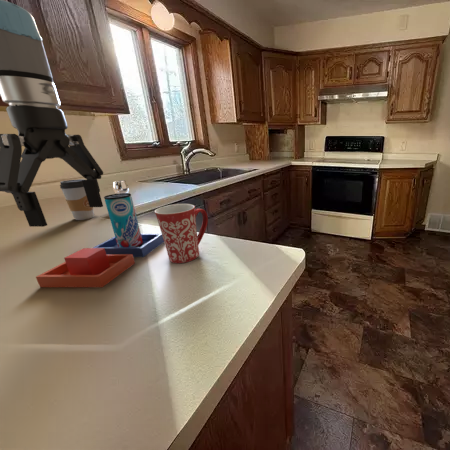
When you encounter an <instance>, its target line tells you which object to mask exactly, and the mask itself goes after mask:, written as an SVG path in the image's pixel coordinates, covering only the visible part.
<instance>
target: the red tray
mask: <svg viewBox="0 0 450 450" xmlns="http://www.w3.org/2000/svg"><path fill="white" fill-rule="evenodd" d="M106 255H107V258H108V261H109V265H110V267H109V268H108V269H106V270H105V271H103V272H102V273H100V274H98V275H70V272H69V270H68V267H67V264H66V262H65V261H64V262H61V263H60V264H57V265H56V266H54V267H52V268H50V269H48V270H46V271H44V272H42V273H40V274H38V275H36V276H35V279H36V281H37V283H38V285H39V286H38V287H40V288H104V287H105V286H106V285H108V284H109V283H110V282H112V281H113V280H115V279H116V278H117V277H118V276H120V275H121V274H122V273H124V272H125V271H127V270H128V269H129V268H131V267H132V266H134V265H135V264H136V261H135V257H133V254H106Z"/></svg>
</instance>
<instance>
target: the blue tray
mask: <svg viewBox="0 0 450 450" xmlns="http://www.w3.org/2000/svg"><path fill="white" fill-rule="evenodd" d="M141 237H142V241H143V244H142V245H141V246H140V247H118V245H117V241H116V238H115V236H113V237H111V238H108V239H107V240H105V241H103V242H101V243H99V244H97V245H94V246H93V247H92V248H104V249H105V252H106V254H133V258H145V257H146V256H147V255H149V254H150V253H151V252H153V251H155V250H156V249H157V248H159V247H160V246H161V245H163V244H164V240H163V236H162V233H141Z"/></svg>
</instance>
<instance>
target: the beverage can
mask: <svg viewBox="0 0 450 450" xmlns="http://www.w3.org/2000/svg"><path fill="white" fill-rule="evenodd" d="M103 199H104V203H105V207H106V210H107V214H108V217H109V220H110V224H111V227H112V230H113V234H114V237H115V238H116V241H117V245H118V247H140V246H141V245H142V244H143V241H142V237H141V234H142V233H141V229H140V225H139V221H138V217H137V213H136V209H135V205H134V201H133V197H132V194H131V193H129V192H128V193H119V194H116V193H112V194H107V195H104V196H103Z"/></svg>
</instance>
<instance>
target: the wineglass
mask: <svg viewBox="0 0 450 450" xmlns="http://www.w3.org/2000/svg"><path fill="white" fill-rule="evenodd" d="M112 190H113V192H114V194H119V193H129V192H130V189H129V185H128V182H127V181H126V180H122V179H121V180H114V181H112Z"/></svg>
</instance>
